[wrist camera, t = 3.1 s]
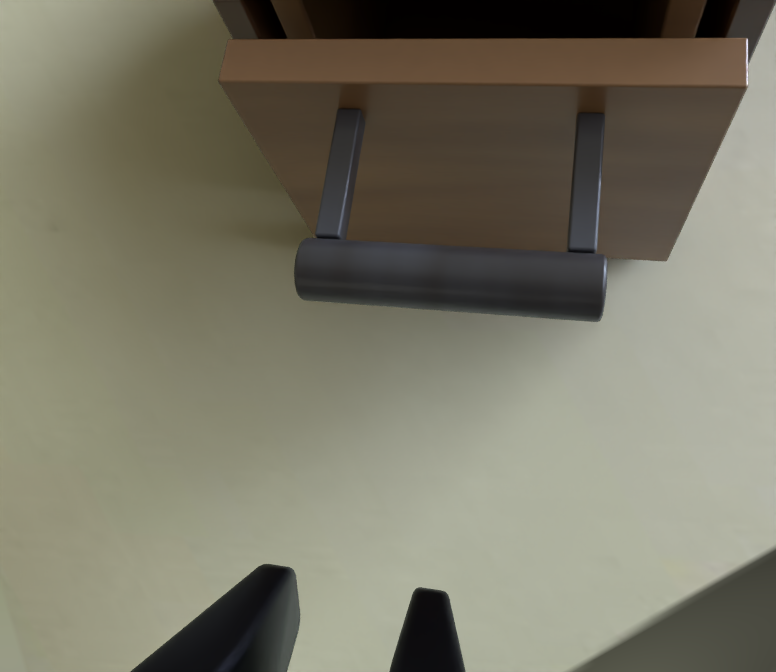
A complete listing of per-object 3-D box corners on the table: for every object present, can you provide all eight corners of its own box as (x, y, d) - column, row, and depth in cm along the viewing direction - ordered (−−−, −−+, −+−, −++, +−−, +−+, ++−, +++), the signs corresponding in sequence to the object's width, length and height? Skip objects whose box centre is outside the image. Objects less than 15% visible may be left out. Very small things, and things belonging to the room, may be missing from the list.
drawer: (662, 409, 22) (749, 309, 13) (293, 374, 24) (171, 270, 16) (677, -59, 26) (748, -347, 18) (369, -51, 29) (307, -302, 20)
